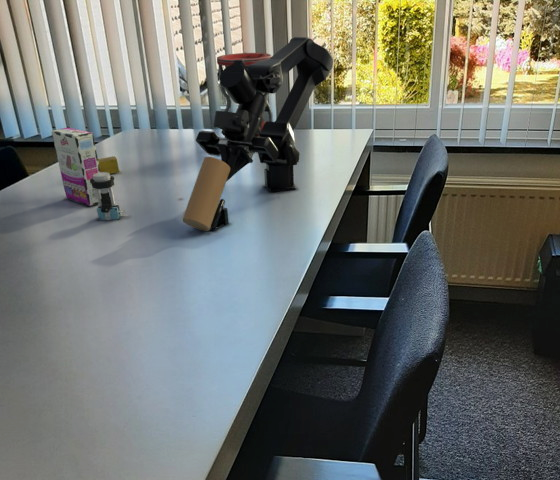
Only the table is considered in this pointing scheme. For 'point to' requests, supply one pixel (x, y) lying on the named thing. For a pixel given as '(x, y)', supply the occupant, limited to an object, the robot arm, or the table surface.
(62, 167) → the candy bar box
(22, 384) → the table surface
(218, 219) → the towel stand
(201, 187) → the paper towel roll
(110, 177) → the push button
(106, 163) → the medication box
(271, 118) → the hourglass
